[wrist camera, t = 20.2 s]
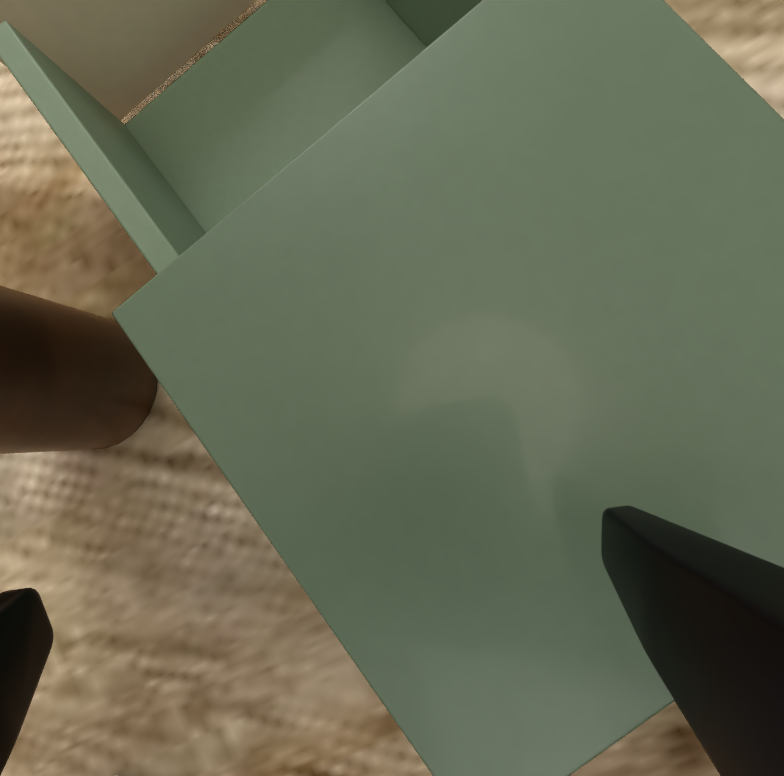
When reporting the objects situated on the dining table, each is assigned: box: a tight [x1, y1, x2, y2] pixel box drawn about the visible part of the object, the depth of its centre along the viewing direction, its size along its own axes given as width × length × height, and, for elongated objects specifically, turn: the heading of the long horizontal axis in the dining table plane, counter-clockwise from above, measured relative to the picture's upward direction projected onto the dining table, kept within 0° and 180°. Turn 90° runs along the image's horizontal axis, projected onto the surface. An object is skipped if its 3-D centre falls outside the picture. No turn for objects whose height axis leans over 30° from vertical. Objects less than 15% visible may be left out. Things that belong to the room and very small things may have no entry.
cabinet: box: [112, 0, 784, 776], centre depth 16 cm, size 14×14×8 cm
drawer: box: [0, 0, 482, 274], centre depth 18 cm, size 18×13×7 cm
